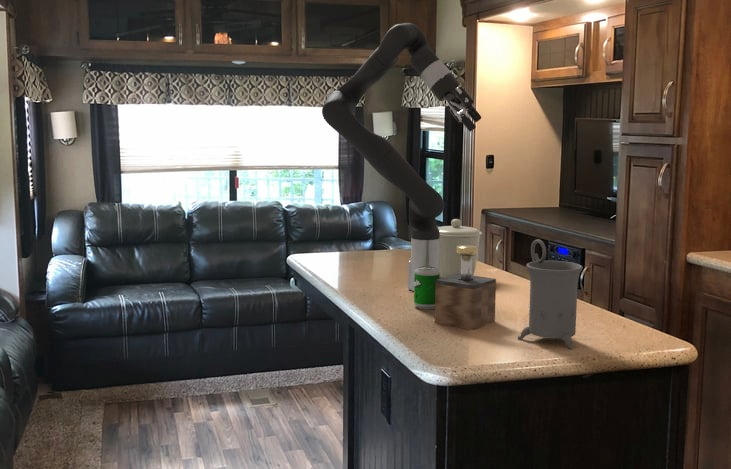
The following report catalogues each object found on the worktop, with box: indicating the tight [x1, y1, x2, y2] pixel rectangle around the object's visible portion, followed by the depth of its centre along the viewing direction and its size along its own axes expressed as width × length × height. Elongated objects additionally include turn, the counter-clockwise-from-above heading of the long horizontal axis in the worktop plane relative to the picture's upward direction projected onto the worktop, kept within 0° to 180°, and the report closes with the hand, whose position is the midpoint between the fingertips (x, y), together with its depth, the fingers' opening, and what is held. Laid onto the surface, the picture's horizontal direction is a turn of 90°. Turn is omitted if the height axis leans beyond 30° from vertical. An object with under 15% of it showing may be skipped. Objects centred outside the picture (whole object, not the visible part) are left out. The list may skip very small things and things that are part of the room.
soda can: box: [413, 266, 441, 311], centre depth 233 cm, size 8×8×12 cm
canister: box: [437, 218, 483, 279], centre depth 277 cm, size 18×18×21 cm
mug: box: [517, 238, 584, 350], centre depth 198 cm, size 19×15×25 cm
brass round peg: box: [456, 245, 478, 281], centre depth 215 cm, size 6×6×12 cm
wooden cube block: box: [434, 274, 497, 331], centre depth 216 cm, size 12×12×12 cm
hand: (475, 125), depth 219 cm, fingers open, 8 cm apart
